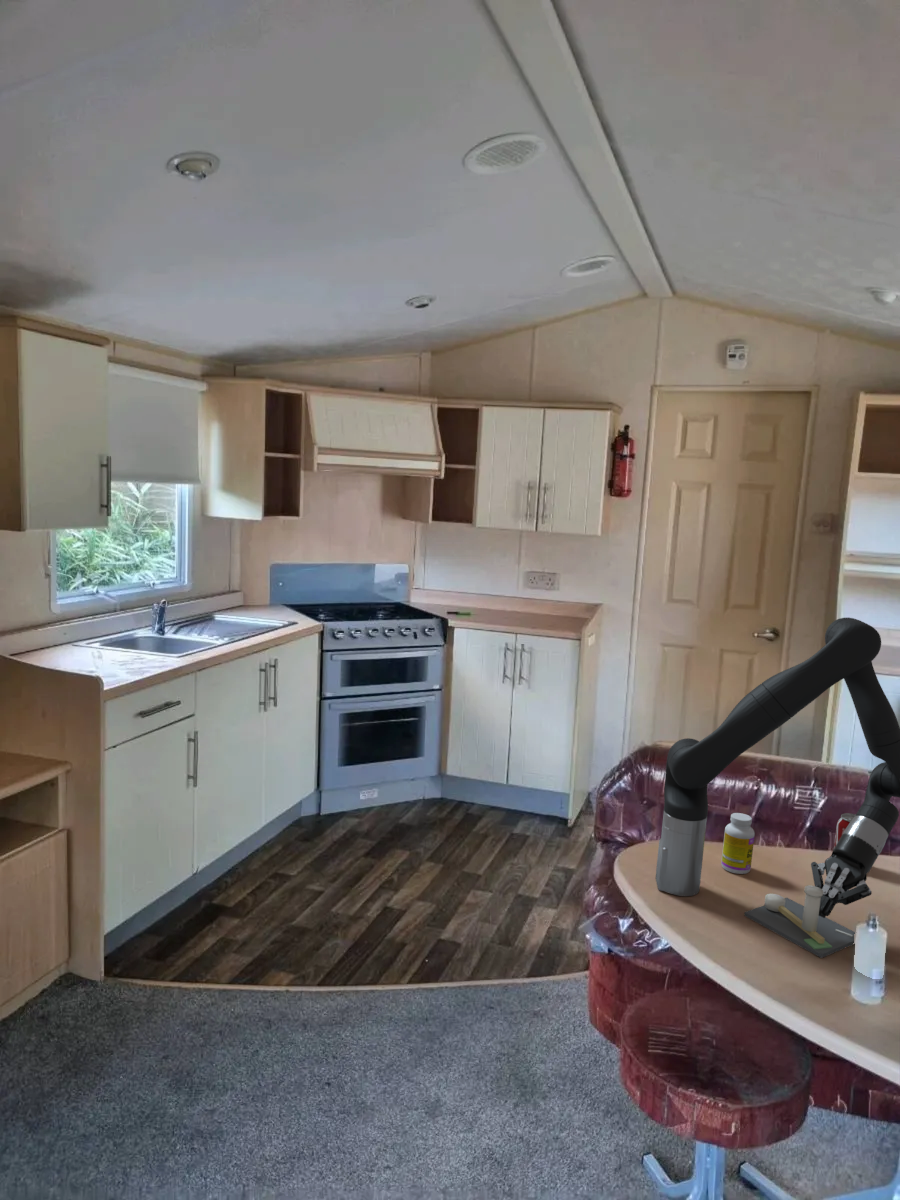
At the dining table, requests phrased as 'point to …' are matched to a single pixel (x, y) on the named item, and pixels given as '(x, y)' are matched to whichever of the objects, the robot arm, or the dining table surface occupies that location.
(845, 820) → the soda can
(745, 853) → the supplement bottle
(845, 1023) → the dining table surface
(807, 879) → the dining table surface
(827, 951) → the dark grey base plate
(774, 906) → the domed post with rod
